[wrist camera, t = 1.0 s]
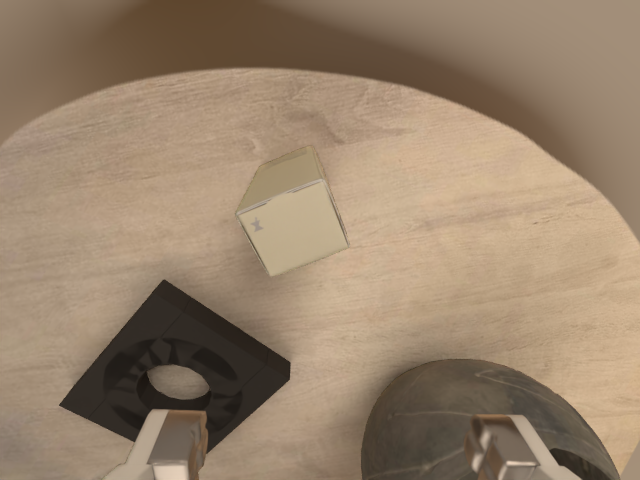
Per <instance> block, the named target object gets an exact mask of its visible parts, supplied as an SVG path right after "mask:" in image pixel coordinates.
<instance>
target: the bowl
mask: <svg viewBox="0 0 640 480" xmlns="http://www.w3.org/2000/svg"><path fill="white" fill-rule="evenodd" d="M475 414H504V415H523V416H524V417H526V418H527V420H528V421H529V423H530V424H531V425H532V427H533V428H534V430H535V431H536V433H537V434H538V436H539V437H540V439H541V440H542V442H543V443H544V444H545V446H546V447H547V449H548V450H549V452H550V453H551V455H552V456H553V458H554V459H555V460H556V462H557V463H558V465H559V466H565V467H566V468H567V469H569V470H570V471H571V472H573V473H574V474H575V475H577V476H578V477H579V478H581V479H582V480H620V477H619V474H618V471H617V469H616V467H615V465H614V463H613V461H612V459H611V457H610V455H609V454H608V452H607V450H606V449H605V447H604V445H603V444H602V442H601V440H600V439H599V438H598V436H597V435H596V434H595V432H594V431H593V429H592V428H591V427H590V426H589V425H588V424H587V422H586V421H585V420H584V419H583V418H582V417H581V415H580V414H579V413H578V412H577V411H576V410H575V409H574V408H573V407H572V406H571V405H570V404H569V403H568V402H567V401H566V400H564V399H563V398H562V397H561V396H559V395H558V394H556V393H554V392H553V391H552V390H550V389H549V388H548V387H546V386H544V385H543V384H541V383H539V382H538V381H536V380H534V379H533V378H531V377H529V376H527V375H525V374H523V373H522V372H520V371H516V370H514V369H512V368H509V367H506V366H503V365H499V364H495V363H491V362H488V361H483V360H471V359H448V360H440V361H434V362H430V363H426V364H423V365H421V366H418V367H416V368H414V369H411V370H409V371H407V372H406V373H404V374H402V375H400V376H399V377H398V378H396V379H395V380H394V381H393V382H392V383H391V384H390V385H389V386H388V387H387V388H386V389H385V390H384V391H383V393H382V394H381V395H380V397H379V398H378V400H377V402H376V404H375V405H374V407H373V409H372V411H371V414H370V416H369V418H368V421H367V425H366V429H365V433H364V438H363V443H362V450H361V470H362V479H363V480H477V478H478V474H477V473H476V472H475V471H474V470H473V469H472V468H471V467H470V466H469V464H468V461H467V459H466V455H465V452H464V438H465V434H466V432H468V431H469V430H470V429H472V427H471V425H470V420H471V417H472V416H473V415H475Z"/></svg>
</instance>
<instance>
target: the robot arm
mask: <svg viewBox="0 0 640 480" xmlns="http://www.w3.org/2000/svg"><path fill="white" fill-rule="evenodd" d="M206 421H207V416H206V411H194V410H168V409H152V411H151V412H150V413H149V414H148V416H147V418H146V420H145V422H144V424H143V426H142V428H141V431H140V433H139V435H138V437H137V439H136V441H135V443H134V445H133V447H132V449H131V452H130V454H129V456H128V458H127V460H126V462H125V464H119V465H118V466H116V467H115V468H114V469H113V470H112V471H110V472H109V473H108V474H107V475H106V476H105V477H103V478H102V479H101V480H199V476H198V471H199V470H200V469H201V468H202V467H203V465H204V461H205V457H206V452H207V445H208V430H207V429H206V428H205V424H206ZM470 425H471V427H472V429H470V430H469V431H468V432H466V434H465V438H464V452H465V455H466V459H467V461H468V464H469V466H470V467H471V468H472V469H473V470H474V471H475V472H476V473H477V474H478V478H477V480H582V479H581V478H579V477H578V476H577V475H575V474H574V473H573V472H571V471H570V470H569V469H567V468H566V467H565V466H559V465H558V463H557V462H556V460H555V459H554V458H553V456H552V455H551V453H550V452H549V450H548V449H547V447H546V446H545V444H544V443H543V442H542V440H541V439H540V437H539V436H538V434H537V433H536V431H535V430H534V428H533V427H532V425H531V424H530V423H529V421H528V420H527V418H526V417H524V416H523V415H504V414H475V415H473V416H472V417H471V420H470Z"/></svg>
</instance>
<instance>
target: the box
mask: <svg viewBox="0 0 640 480" xmlns="http://www.w3.org/2000/svg"><path fill="white" fill-rule="evenodd" d="M235 215H236V218H237V220H238V222H239V224H240V225H241V227H242V229H243V231H244V233H245V235H246V237H247V239H248V241H249V242H250V244H251V246H252V248H253V250H254V251H255V253H256V255H257V257H258V258H259V260H260V262H261V264H262V265H263V267H264V269H265V271H266V272H267V274H268V275H269V276H270V277H275V276H278V275H281V274H283V273H286V272H289V271H292V270H294V269H297V268H300V267H303V266H305V265H308V264H311V263H313V262H316V261H318V260H321V259H323V258H326V257H329V256H331V255H333V254H336V253H338V252H340V251H342V250H345V249H347V248H349V247H350V243H349V240H348V236H347V233H346V230H345V227H344V224H343V222H342V219H341V216H340V214H339V211H338V208H337V206H336V203H335V200H334V197H333V195H332V192H331V189H330V186H329V184H328V181H327V178H326V175H325V173H324V170H323V168H322V165H321V163H320V160H319V158H318V156H317V153H316V151H315V149H314V147H313V146H311V145H310V146H307V147H304V148H302V149H299V150H296V151H294V152H291V153H289V154H286V155H284V156H282V157H279V158H277V159H275V160H272V161H270V162H268V163H265V164H263V165H261V166H259V168H258V170H257V172H256V174H255V176H254V178H253V180H252V182H251V184H250V186H249V187H248V189H247V191H246V193H245V195H244V197H243V199H242V201H241V203H240V205H239V207H238V209H237V211H236V213H235Z"/></svg>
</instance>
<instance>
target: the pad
mask: <svg viewBox="0 0 640 480" xmlns="http://www.w3.org/2000/svg"><path fill="white" fill-rule="evenodd" d="M172 364H174V365H179V366H183V367H187V368H190V369H192V370H193V371H195V372H197V373H199V374H200V375H202V376H203V378H204V379H205V380H206V381H207V383H208V384H209V386H210V391H209V392H208V393H207V394H206V395H204V396H202V397H199V398H197V399H191V400H179V399H175V398H170V397H168V396H166V395H164V394H162V393H160V392H158V391H157V390H156V389H155V388H154V387H153V386H152V385H151V383H150V382H149V380H148V376H147V373H146V371H147V370H149V369H151V368H153V367H156V366H158V365H172ZM289 380H290V362H289V361H287V360H286V359H284V358H283V357H281V356H280V355H278V354H277V353H275V352H274V351H272V350H271V349H269V348H268V347H266V346H265V345H263V344H262V343H260V342H259V341H257V340H256V339H254V338H252V337H251V336H249V335H248V334H246V333H245V332H243V331H242V330H240V329H239V328H237V327H236V326H234V325H233V324H231V323H230V322H228V321H227V320H225V319H224V318H222V317H221V316H219V315H217V314H216V313H214V312H213V311H211V310H210V309H208V308H207V307H205V306H204V305H202V304H201V303H199V302H198V301H196V300H195V299H193V298H191V297H190V296H188V295H187V294H185V293H184V292H182V291H181V290H179V289H178V288H176V287H175V286H173V285H172V284H170V283H169V282H167V281H166V280H163V281H162V282H161V283H160V284H159V285H158V287H157V288H156V289H155V290H154V291H153V292H152V294H151V295H150V296H149V297H148V298H147V300H146V301H145V302H144V303H143V304H142V306H141V307H140V308H139V309H138V310H137V312H136V313H135V314H134V315H133V316H132V317H131V319H130V320H129V321H128V322H127V323H126V325H125V326H124V327H123V328H122V329H121V331H120V332H119V333H118V334H117V335H116V336H115V338H114V339H113V340H112V341H111V342H110V344H109V345H108V346H107V347H106V348H105V350H104V351H103V352H102V353H101V354H100V356H99V357H98V358H97V359H96V360H95V361H94V363H93V364H92V365H91V366H90V367H89V369H88V370H87V371H86V372H85V373H84V375H83V376H82V377H81V378H80V379H79V381H78V382H77V383H76V384H75V385H74V386H73V388H72V389H71V390H70V392H69V393H68V394H67V396H66V397H65V398H64V399H63V401H62V402H61V403H60V405H59V406H61V407H63V408H65V409H67V410H69V411H71V412H73V413H75V414H77V415H80V416H82V417H84V418H86V419H88V420H90V421H92V422H94V423H96V424H98V425H100V426H102V427H105V428H107V429H109V430H111V431H113V432H115V433H117V434H119V435H121V436H123V437H125V438H127V439H129V440H131V441H133V442H135V441H136V439H137V437H138V435H139V433H140V431H141V428H142V426H143V424H144V422H145V420H146V418H147V416H148V414H149V413H150V412H151V411H152V409H168V410H194V411H206V416H207V421H206V424H205V428H206V429H207V430H208V445H207V452H206V454H207V453H208V452H209V451H210V450H212V449H213V448H214V447H215V446H216V445H217V444H218V443H219V442H220V441H222V440H223V439H224V438H225V437H226V436H227V435H228V434H229V433H231V432H232V431H233V430H234V429H235V428H236V427H237V426H238V425H239V424H241V423H242V422H243V421H244V420H245V419H246V418H247V417H248V416H250V415H251V414H252V413H253V412H254V411H255V410H256V409H257V408H258V407H260V406H261V405H262V404H263V403H264V402H265V401H266V400H267V399H269V398H270V397H271V396H272V395H273V394H274V393H275V392H276V391H277V390H279V389H280V388H281V387H282V386H283V385H284V384H285V383H286V382H288V381H289Z"/></svg>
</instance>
